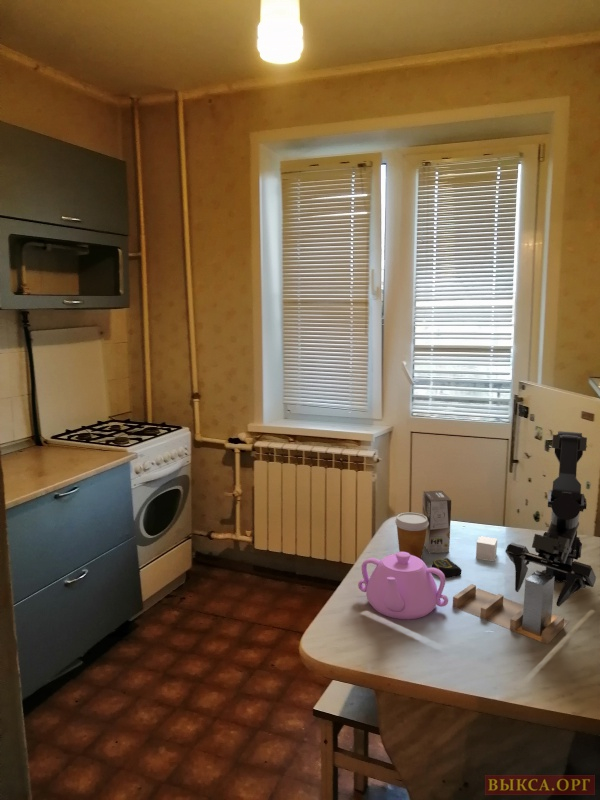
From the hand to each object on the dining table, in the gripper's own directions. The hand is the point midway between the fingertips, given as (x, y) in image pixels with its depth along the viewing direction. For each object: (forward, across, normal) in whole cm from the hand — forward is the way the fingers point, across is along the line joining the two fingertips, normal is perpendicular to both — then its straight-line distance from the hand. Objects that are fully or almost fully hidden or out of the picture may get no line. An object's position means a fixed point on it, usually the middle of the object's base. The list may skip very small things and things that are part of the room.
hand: (536, 598), depth 134 cm
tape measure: (-2, -30, +15) cm, 33 cm away
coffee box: (-12, -42, +25) cm, 50 cm away
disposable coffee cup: (-4, -42, +17) cm, 46 cm away
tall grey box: (+4, 0, +6) cm, 8 cm away
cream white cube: (-15, -27, +28) cm, 42 cm away
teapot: (+15, -28, -2) cm, 32 cm away
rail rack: (+4, -7, +8) cm, 12 cm away
